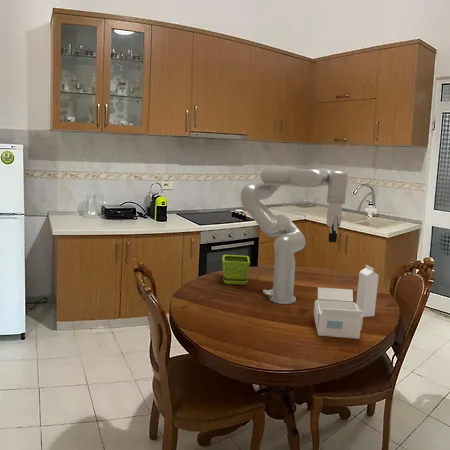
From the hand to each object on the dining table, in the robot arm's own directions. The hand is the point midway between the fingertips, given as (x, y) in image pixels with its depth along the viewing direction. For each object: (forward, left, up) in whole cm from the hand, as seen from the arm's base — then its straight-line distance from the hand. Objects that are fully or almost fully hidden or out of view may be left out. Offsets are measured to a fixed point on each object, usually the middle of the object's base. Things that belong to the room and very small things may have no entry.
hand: (332, 241), depth 211 cm
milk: (+17, +1, -32) cm, 37 cm away
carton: (+2, -18, -32) cm, 37 cm away
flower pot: (-43, +34, -32) cm, 64 cm away
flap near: (+2, -28, -21) cm, 35 cm away
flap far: (+2, -8, -21) cm, 22 cm away
